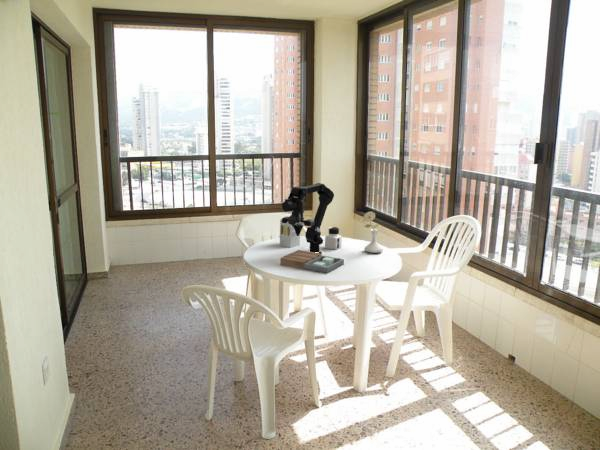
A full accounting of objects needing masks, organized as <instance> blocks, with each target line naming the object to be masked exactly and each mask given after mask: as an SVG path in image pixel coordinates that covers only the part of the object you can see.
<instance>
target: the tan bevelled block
mask: <svg viewBox="0 0 600 450" xmlns="http://www.w3.org/2000/svg"><path fill="white" fill-rule="evenodd" d="M319 256H323V255H322V253H314V252H309V250H308V251H307V250H302V249H301V250H300V249H297V250H295V251H293V252H291V253H288V254H286V255H284V256H281V257H280V266H283V267H284V266H285V267H290V268H294V269H295V268H296V269H301V270H305V269H304V264H305V263H307V262H309V261H311V260H313V259H315V258H317V257H319Z"/></svg>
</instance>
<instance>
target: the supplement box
mask: <svg viewBox="0 0 600 450" xmlns="http://www.w3.org/2000/svg"><path fill="white" fill-rule="evenodd" d="M279 221H280V222H279V245H280V246H283V247H286V248H294V247H295V248H296V247H298V246H300V244H301V233H300V234H299V236H297V235H296V232H295V229H294V227H293V226H292V225H290V224H289V223H288V222H287V223H282V218H280V220H279Z"/></svg>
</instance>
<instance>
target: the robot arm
mask: <svg viewBox="0 0 600 450" xmlns="http://www.w3.org/2000/svg"><path fill="white" fill-rule="evenodd" d="M316 192H317V194H318V202H319V203H318V206H317V210H316V212H315V215H314V218H313V219H309V218H308V219H305V217H304V214H305V211H304V202H305V201H307V200H306V198H305V197H307V196H308V195H310V194H312V193H316ZM334 198H335V193H334V192H333V190H331V189H330V188H328V186H326V184H324V183H320V182H317V183H315V184H310V185H306V186H293V187H292V189H291V191H290V193H289V195H288V197H287V198H285V199H284V201H283V202H282V204H281V208H282V210H283V212H285V213H286V212H290V211H291V215H290V216H283V217H282V218H281V219H282V223H287V222H288V223H289V224H290V225H292V226H293V227H294V229H295V232H296V235H297V236H299V234H300V235H301V232H302V230H303V229H304V226H305V227H307V228H306V232H305V236H304V237H305V240H306V243H309V251H310V252H314V253H315V252H319V251H320V245H322V244H323V243H324V239H323V238H322V237H321V235H322V234H321V233H322V232H321V226H322V223H323V220H324V216H325V213H326V210H327V209H328V206H329V205H330V204H332V202H333V200H334Z"/></svg>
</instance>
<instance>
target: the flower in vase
mask: <svg viewBox="0 0 600 450" xmlns="http://www.w3.org/2000/svg"><path fill="white" fill-rule="evenodd" d="M362 218H363V221H364V222H368V224H365V225H364V226H363V227H364V228H367V229H368V228H371V229H370V232H371V234H372V235H371V237H372V240H371V241H370V243H368V244H367V245H365V247H364V248H363V249H364V251H365V252H367V253H371V254H372V253H374V254H377V253H378V254H379V253H381V252H383V251H384V247H382V245H381V244H379V243H378V242H377V234H378V232H379V229H377V227H378V226H379V224H380V223H376V224H374V225H372V221H374V219H376V213H375V212H373V211H367V212H365V213H364V214H363V216H362ZM369 223H370V224H369Z"/></svg>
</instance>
